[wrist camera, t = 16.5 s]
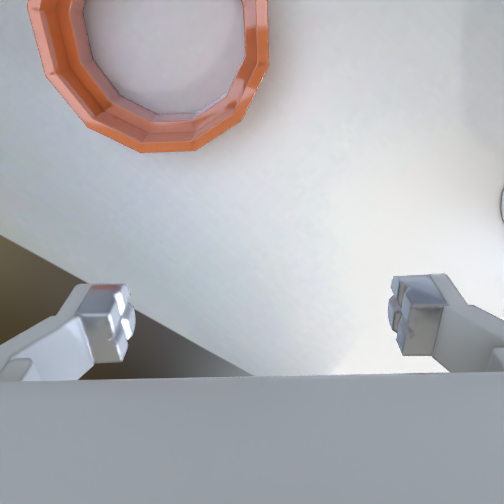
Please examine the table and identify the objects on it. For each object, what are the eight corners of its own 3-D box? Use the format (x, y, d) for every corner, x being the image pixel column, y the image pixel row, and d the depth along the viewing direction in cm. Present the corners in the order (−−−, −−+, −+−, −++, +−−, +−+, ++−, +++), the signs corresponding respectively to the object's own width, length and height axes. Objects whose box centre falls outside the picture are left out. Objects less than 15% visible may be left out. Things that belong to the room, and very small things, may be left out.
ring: (264, -104, 32) (264, -124, 27) (269, 129, 41) (270, 148, 36) (36, -90, 33) (-5, -107, 28) (90, 137, 42) (66, 156, 37)
